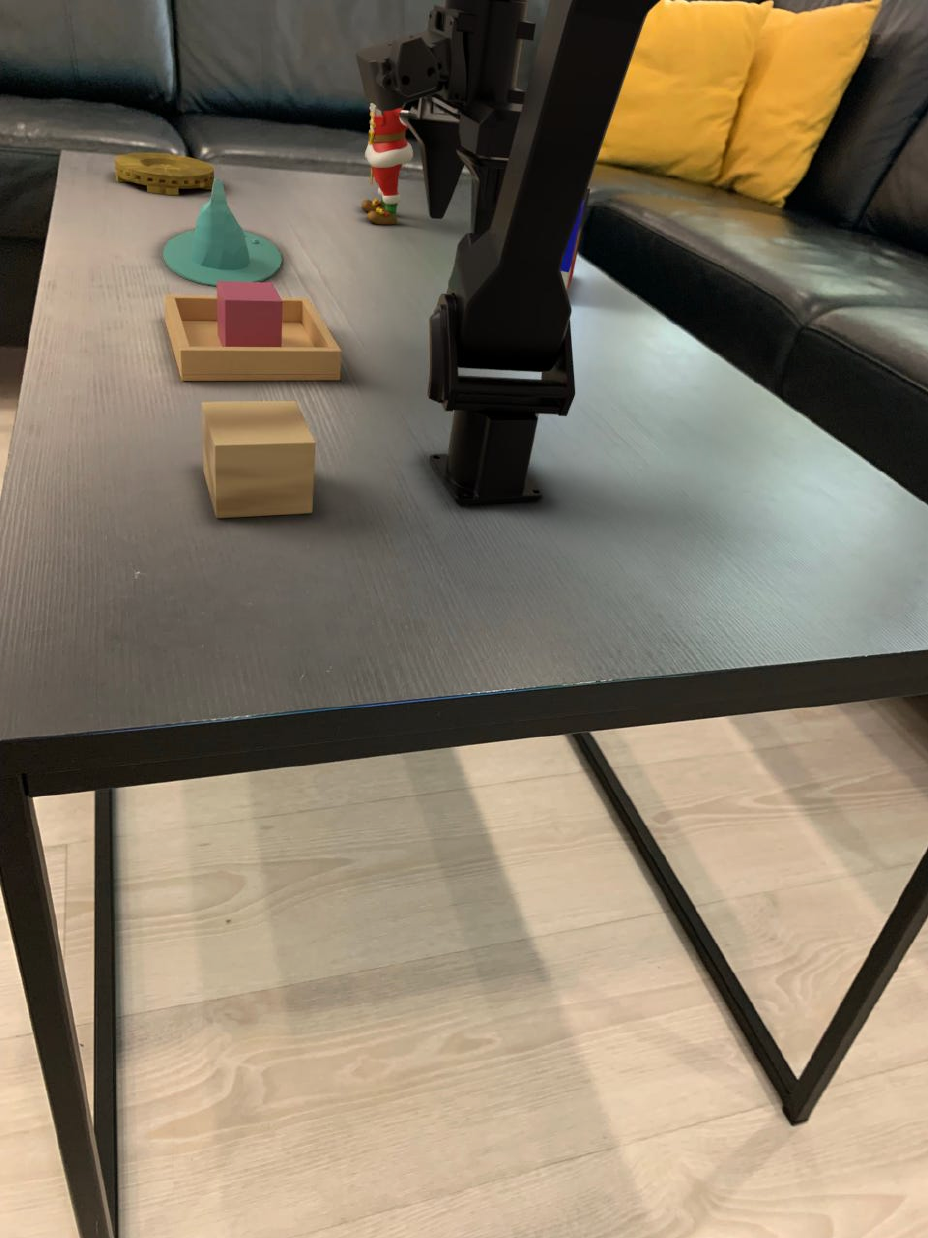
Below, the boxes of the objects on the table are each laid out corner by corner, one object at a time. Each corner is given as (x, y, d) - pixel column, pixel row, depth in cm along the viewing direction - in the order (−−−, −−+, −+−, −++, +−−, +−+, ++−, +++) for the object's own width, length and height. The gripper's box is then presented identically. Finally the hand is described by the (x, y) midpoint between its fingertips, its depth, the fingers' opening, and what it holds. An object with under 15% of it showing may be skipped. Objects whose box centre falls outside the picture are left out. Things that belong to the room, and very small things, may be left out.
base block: (312, 513, 60) (316, 442, 57) (216, 518, 58) (214, 445, 55) (293, 468, 64) (296, 400, 61) (203, 471, 62) (201, 401, 59)
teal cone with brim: (284, 235, 108) (286, 154, 103) (279, 292, 92) (281, 200, 87) (175, 223, 106) (171, 140, 101) (151, 279, 90) (145, 184, 85)
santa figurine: (350, 191, 130) (360, 34, 119) (391, 195, 131) (405, 40, 120) (374, 244, 111) (389, 62, 100) (422, 248, 112) (442, 70, 101)
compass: (233, 188, 122) (233, 170, 121) (163, 199, 113) (163, 180, 112) (167, 166, 126) (166, 149, 125) (95, 175, 118) (93, 156, 116)
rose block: (281, 355, 78) (282, 301, 76) (225, 355, 77) (224, 299, 74) (271, 335, 82) (272, 282, 79) (217, 334, 80) (216, 280, 77)
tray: (339, 380, 77) (341, 351, 76) (181, 381, 73) (180, 349, 71) (307, 324, 86) (308, 297, 85) (165, 322, 82) (164, 293, 80)
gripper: (335, -33, 68) (324, 197, 77) (421, -6, 54) (395, 269, 63) (476, -11, 72) (450, 204, 81) (588, 18, 58) (542, 273, 67)
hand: (456, 234), depth 73 cm, fingers open, 9 cm apart
